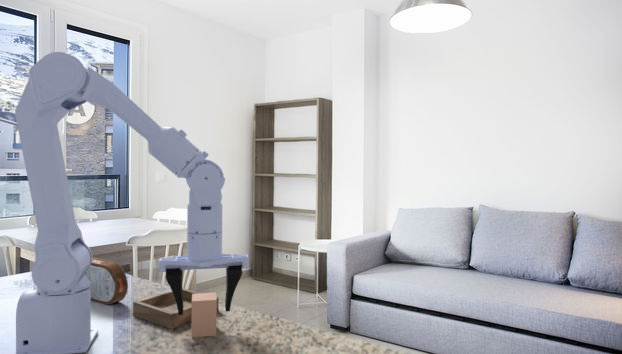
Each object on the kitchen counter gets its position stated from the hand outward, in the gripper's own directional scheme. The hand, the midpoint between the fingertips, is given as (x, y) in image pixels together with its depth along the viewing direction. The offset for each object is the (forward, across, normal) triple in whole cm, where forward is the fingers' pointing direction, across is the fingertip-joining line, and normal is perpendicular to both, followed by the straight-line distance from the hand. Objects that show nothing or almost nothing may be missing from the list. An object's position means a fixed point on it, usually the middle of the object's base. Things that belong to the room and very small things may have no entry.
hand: (204, 311), depth 72 cm
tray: (+3, -5, +10) cm, 12 cm away
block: (+3, 0, 0) cm, 4 cm away
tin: (+4, -21, +21) cm, 30 cm away
